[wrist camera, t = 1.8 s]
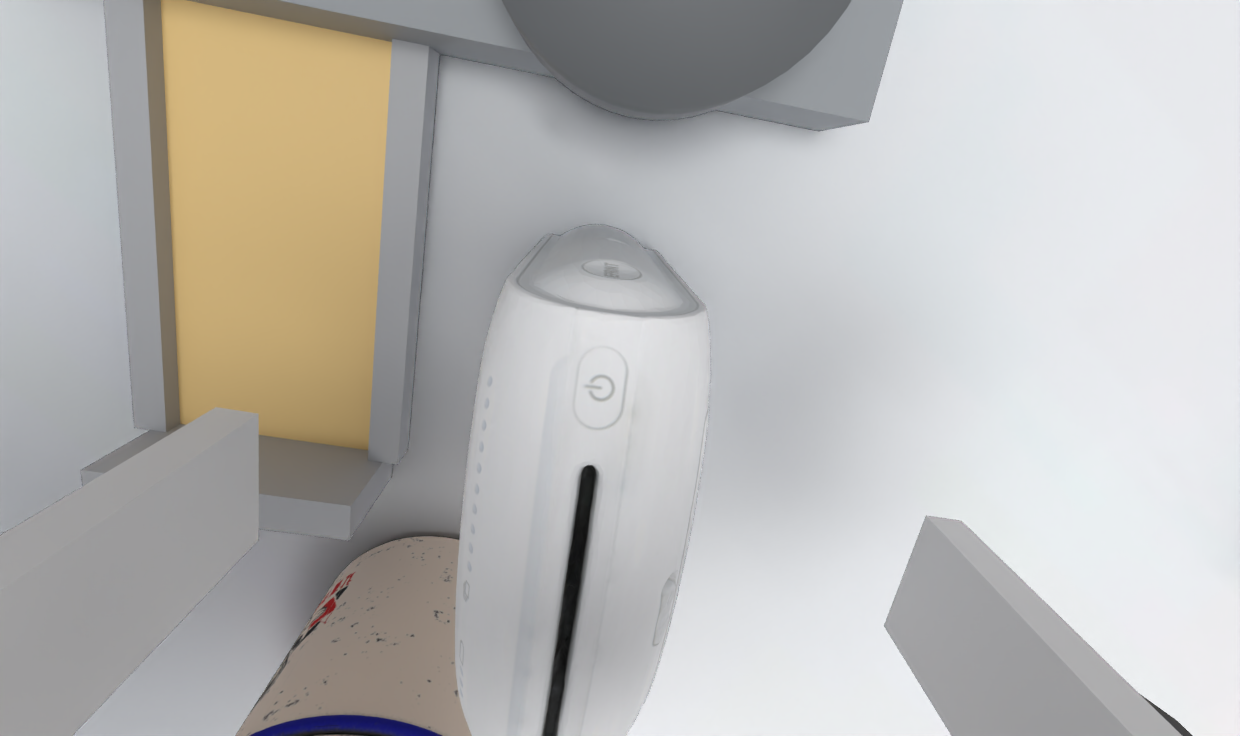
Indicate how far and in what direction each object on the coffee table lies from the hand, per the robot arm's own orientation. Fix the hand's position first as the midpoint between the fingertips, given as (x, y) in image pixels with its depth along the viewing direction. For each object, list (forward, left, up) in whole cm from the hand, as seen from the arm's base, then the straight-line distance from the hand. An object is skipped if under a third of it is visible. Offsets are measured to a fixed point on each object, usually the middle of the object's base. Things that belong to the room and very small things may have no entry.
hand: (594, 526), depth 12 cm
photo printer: (0, 0, -10) cm, 10 cm away
